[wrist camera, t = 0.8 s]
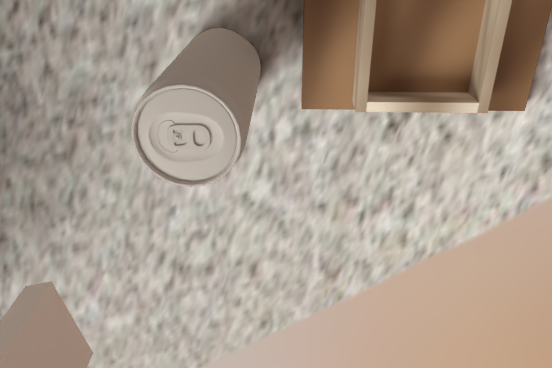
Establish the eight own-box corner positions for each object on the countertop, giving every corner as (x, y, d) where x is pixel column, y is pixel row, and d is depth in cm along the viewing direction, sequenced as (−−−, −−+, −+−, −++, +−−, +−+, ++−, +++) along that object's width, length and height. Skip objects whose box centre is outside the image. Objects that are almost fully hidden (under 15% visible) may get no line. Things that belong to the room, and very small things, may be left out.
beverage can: (182, 25, 29) (119, 80, 18) (261, 26, 29) (243, 81, 18) (188, 101, 31) (136, 189, 21) (261, 102, 31) (246, 190, 21)
